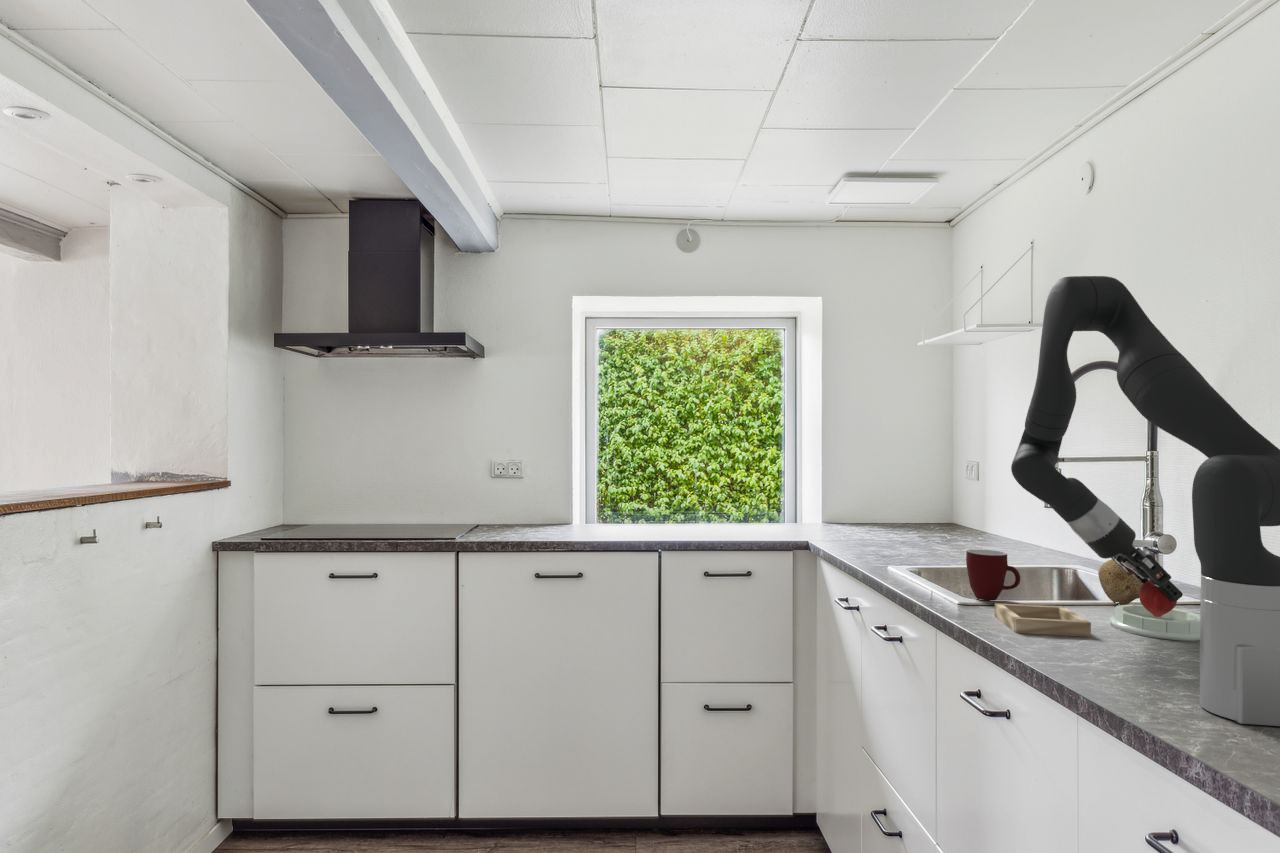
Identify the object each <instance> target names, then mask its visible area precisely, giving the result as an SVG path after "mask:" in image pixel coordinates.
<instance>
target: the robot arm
mask: <svg viewBox="0 0 1280 853" xmlns="http://www.w3.org/2000/svg"><path fill="white" fill-rule="evenodd" d="M1042 320H1043V321H1042V329H1041V337H1040V345H1039V353H1038V354H1039V356H1038V366H1037V374H1036V378H1035V385H1034V389H1033V393H1032V396H1031V399H1030V402H1029V406H1028V410H1027V413H1026V417H1025V421H1024V430H1023V432H1022V434H1021V438H1020V442H1019V443H1018V447H1017V449H1016V451H1015V455H1014V457H1013V460H1012V463H1011V467H1010V469H1011V474H1012V477H1013V478H1014V480H1015V481H1016V482H1017V483H1018V485H1019V486H1021V488H1022V489H1024V490H1025V491H1026V492H1028V493H1029V494H1031V495H1032V496H1034V497H1035V498H1036V499H1038V500H1040V501H1041V502H1042V503H1045V504H1046V505H1048V506H1050V508H1052V509H1053V511H1055V513H1056V514H1057V515H1059V517H1060V518H1061V519H1062V520H1063V521H1064V522H1066V524H1067V525H1068V526H1069V527H1070V528H1071V529H1072V531H1073V532H1074V533H1075V535H1077V536H1078V538H1080V539H1081V540H1082V541H1083V542H1084V543H1085V544H1086V545H1087V546H1088V547H1089V548H1090V549H1091V550H1092V551H1093V552H1094V553H1095V554H1096V556H1098V557H1099V558H1101V559H1106V560H1107V559H1110V560H1111V559H1113V560H1114V561H1115V562H1116V563H1117V564H1118V565H1119V566H1120V567H1121V568H1122V569H1123V570H1124V571H1125V572H1127V574H1128V575H1133V577H1134V578H1135V579H1137V580H1138V579H1140V580H1139V581H1141V582H1142V583H1143V584H1144V583H1146V582H1147V581H1150V582H1151V583H1153V584H1154V586H1155V587H1157V588H1158V589H1159V590H1160V591H1161V592H1162V593H1164V594H1165V595H1166V596H1167V597H1168V598H1169V599H1170V600H1171V601H1173V602H1176V601H1177V602H1178V601H1179V600H1180V598H1182V597H1183V594H1184V593H1183V592H1182V591H1181V590H1180V589H1179V588H1178V587H1177V586H1176V585H1175V584H1174V583H1173V582H1172V581H1171V579H1172V576H1171V575H1170V574H1169V573H1168V572H1167V571H1166V569H1164V567H1163V566H1161V565H1160V563H1159V562H1158V561H1157V560H1156V559H1155V558H1154V557H1153V555H1152V554H1149V553H1147V554H1146V552H1145V551H1144V550H1143V549H1141V548H1140V547H1137V548H1136V547H1135V546H1134V545H1133V544H1134V541H1135V539H1136V536H1137V535H1136V532H1135V530H1134V529H1133V528H1131V527H1130V525H1128V524H1127V522H1125V520H1123V518H1121V517H1120V516H1119V515H1118V513H1116V512H1115V511H1114V509H1112V508H1111V507H1110V506H1109V505H1108V504H1106V503H1105V502H1104V501H1102V500H1101V499H1100V498H1099V497H1098V496H1096V495H1095V493H1093V492H1092V490H1090V489H1089V487H1088V486H1086V485H1085V484H1084V483H1083V482H1082V481H1081V480H1079V479H1077V478H1076V477H1066V476H1065V475H1063V474H1062V473H1061V472H1059V470H1058V469H1056V465H1057V461H1058V456H1059V453H1060V450H1061V446H1062V442H1063V438H1064V437H1065V435H1066V432H1067V431H1068V428H1069V424H1070V422H1071V419H1072V416H1073V412H1074V410H1075V407H1076V402H1077V387H1076V383H1075V381H1074V377H1073V374H1072V372H1071V368H1070V364H1069V360H1068V348H1069V344H1070V341H1071V338H1072V336H1073V333H1074V332H1098V333H1102V334H1103V335H1105V337H1107V338H1108V339H1109V340H1110V341H1111V342H1112V344H1113V345H1114V346H1115V347H1116V349H1117V350H1118V352H1119V353H1118V359H1117V365H1116V380H1117V384H1118V386H1119V388H1120V390H1121V391H1122V393H1123V394H1124V396H1125V397H1126V398H1127V399H1128V401H1130V403H1131V404H1132V405H1133V407H1134V408H1135V409H1136V410H1137V411H1138V413H1139V414H1140V415H1141V416H1142V417H1144V419H1146V420H1147V422H1148V421H1149V423H1150V424H1152V425H1154V426H1156V427H1157V428H1159V429H1160V430H1162V431H1163V432H1165V433H1167V434H1169V435H1171V436H1172V437H1174V438H1176V439H1178V440H1179V441H1181V442H1184V443H1186V444H1187V445H1189V446H1190V447H1192V448H1194V449H1195V450H1197V451H1199V453H1201V454H1203V455H1204V456H1205V457H1206V458H1207V459H1206V460H1205V461H1203V462H1202V463H1200V465H1199V466H1198V468H1197V470H1196V472H1195V474H1194V478H1193V481H1192V489H1191V502H1192V503H1191V504H1192V505H1191V506H1192V521H1193V522H1192V523H1193V525H1192V526H1193V541H1194V542H1193V543H1194V549H1195V552H1196V555H1197V558H1198V560H1199V563H1200V613H1199V614H1200V640H1199V705H1200V706H1201V707H1202V709H1204V710H1206V711H1208V712H1210V713H1212V714H1214V715H1217V716H1220V717H1223V718H1227V719H1230V720H1233V721H1234V722H1236V723H1239V724H1243V725H1255V726H1257V725H1258V726H1275V727H1280V555H1279V556H1278V555H1276V554H1274V553H1272V552H1271V551H1270V550H1268V549H1267V548H1266V547H1265V546H1264V544H1263V540H1262V533H1261V527H1280V448H1278V447H1277V446H1276V445H1275V444H1274V443H1273V442H1271V441H1270V440H1269V439H1268V438H1266V437H1265V435H1263V434H1261V433H1260V432H1259V431H1258V430H1256V428H1255V427H1253V426H1252V425H1250V424H1249V422H1247V420H1245V419H1244V418H1243V416H1241V415H1240V414H1239V412H1237V410H1235V409H1234V407H1232V405H1231V404H1230V403H1228V401H1227V400H1225V398H1224V397H1223V396H1222V395H1221V394H1220V393H1218V391H1217V390H1216V389H1214V387H1213V386H1212V385H1211V384H1210V383H1209V382H1208V381H1207V380H1206V378H1205V377H1204V376H1203V375H1202V374H1201V373H1200V372H1199V370H1198V369H1196V368H1195V366H1193V364H1191V362H1190V361H1189V360H1188V359H1187V357H1185V355H1183V354H1182V353H1181V352H1180V351H1179V350H1177V348H1176V347H1175V346H1174V345H1173V344H1172V343H1171V342H1170V341H1169V340H1168V338H1166V335H1164V334H1163V333H1162V332H1161V330H1159V329H1158V328H1157V326H1156V325H1155V324H1154V323H1153V322H1152V321H1151V320H1150V318H1149V316H1148V315H1147V314H1146V313H1145V311H1144V310H1143V309H1142V307H1141V305H1140V304H1139V303H1138V301H1137V300H1136V299H1135V297H1134V295H1133V294H1132V293H1131V291H1130V290H1129V288H1127V286H1126V285H1125V284H1124V283H1123V282H1121V281H1120V280H1118V279H1117V278H1115V277H1112V276H1105V275H1081V276H1080V275H1079V276H1077V275H1076V276H1075V275H1073V276H1072V275H1071V276H1064V277H1062V278H1060V279H1058V280H1057V281H1055V283H1054V284H1053V285H1052V286H1051V288H1050V290H1049V293H1048V296H1047V299H1046V302H1045V306H1044V312H1043V319H1042ZM1157 574H1159V575H1160V577H1158V578H1156V575H1157Z"/></svg>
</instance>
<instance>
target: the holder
mask: <svg viewBox="0 0 1280 853" xmlns="http://www.w3.org/2000/svg"><path fill="white" fill-rule="evenodd" d="M994 618H997V619H998V620H999V621H1000V622H1002V623H1003V624H1004V625H1006V626H1007V627H1008V628H1009V629H1010V630H1012V631H1013V632H1014V633H1017V634H1031V635H1032V634H1033V635H1051V636H1052V635H1053V636H1054V635H1055V636H1071V637H1087V638H1088V637H1089V638H1090V637H1091V636H1092V622H1091V621H1089V620H1088V619H1085V618H1084V617H1082V616H1080V615H1079V614H1077V613H1075V612H1073V611H1071V610H1070V609H1069V608H1066V607H1065V606H1060V605H1059V606H1058V605H1043V604H1042V605H1041V604H1040V605H1038V604H1021V603H1020V604H1019V603H999V602H997V603H994Z"/></svg>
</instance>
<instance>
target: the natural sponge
mask: <svg viewBox="0 0 1280 853" xmlns="http://www.w3.org/2000/svg"><path fill="white" fill-rule="evenodd" d="M1097 574H1098V579H1099V583H1100V586H1101V588H1102V590H1103V592H1104V594H1105V595H1106V596H1107V597H1108V599H1109V600H1110V601H1111V602H1113V603H1114V602H1119V603H1117V604H1120V605H1128V604H1131V603H1132V602H1133V601H1135V600H1138V599H1139V591H1140V589H1141V587H1142V585H1143V583H1142V582H1141V581H1139V580H1140V579H1138V580H1137V579H1135V578H1134V577H1133V575H1128V574H1127V572H1125V571H1124V570H1123V569H1122V568H1121V567H1120V566H1119V565H1118V564H1117V563H1116V562H1115V561H1114V560H1113V559H1111V558H1110V559H1108V560H1106V561H1105V562H1104V563H1103V564H1102V565H1101V566H1100V567H1099V568H1098V572H1097ZM1117 604H1116V605H1117Z"/></svg>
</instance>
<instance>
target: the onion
mask: <svg viewBox="0 0 1280 853" xmlns="http://www.w3.org/2000/svg"><path fill="white" fill-rule="evenodd" d="M1158 577H1160V575H1159V574H1157V575H1156V578H1158ZM1138 599H1139V602H1140V603H1141V604H1140V605H1143V606H1144V608H1145V609H1147V610H1148V611H1149V612H1150V613H1151V614H1152V615H1153V616H1155V617H1161V616H1162V615H1164V614H1166V613H1168V612H1170V611H1171V610H1172V609H1173V608H1174V609H1175V608H1176V605H1177V602H1178V600H1177V601H1176V602H1173V601H1171V600H1170V599H1169V598H1168V597H1167V596H1166V595H1165V594H1164V593H1162V592H1161V591H1160V590H1159V589H1158V588H1157V587H1155V586H1154V584H1153V583H1151V582H1150V581H1147V582H1146V583H1144V584H1143V585H1142V587H1141V589H1140V591H1139V598H1138Z"/></svg>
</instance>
